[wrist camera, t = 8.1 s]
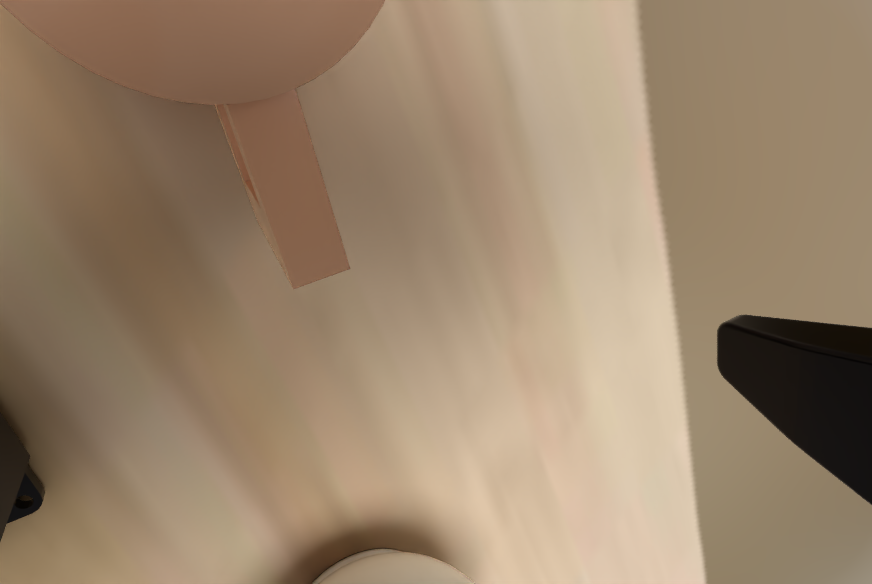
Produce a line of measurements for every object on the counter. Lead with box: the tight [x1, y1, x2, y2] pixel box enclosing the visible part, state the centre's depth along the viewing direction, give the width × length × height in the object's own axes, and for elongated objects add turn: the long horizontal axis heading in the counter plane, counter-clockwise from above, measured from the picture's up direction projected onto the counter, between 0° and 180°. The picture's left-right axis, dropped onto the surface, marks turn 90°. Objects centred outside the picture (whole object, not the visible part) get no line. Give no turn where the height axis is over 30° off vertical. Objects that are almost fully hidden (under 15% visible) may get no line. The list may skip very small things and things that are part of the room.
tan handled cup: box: [0, 0, 385, 289], centre depth 13 cm, size 6×10×9 cm, turn 11°
